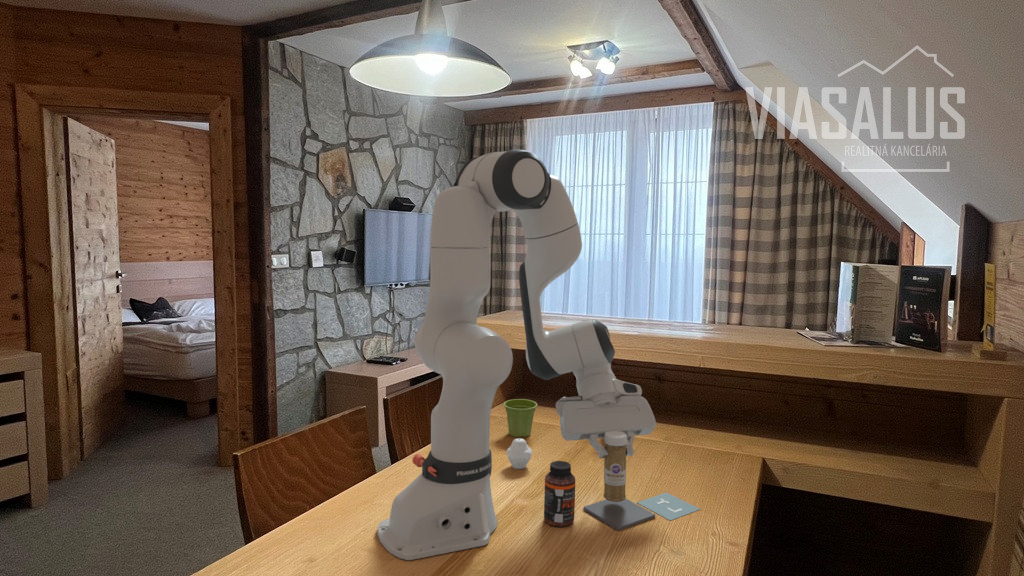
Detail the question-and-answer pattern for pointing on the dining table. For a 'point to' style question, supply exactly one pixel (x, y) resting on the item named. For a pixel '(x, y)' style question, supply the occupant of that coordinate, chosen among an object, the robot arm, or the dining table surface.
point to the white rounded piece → (519, 453)
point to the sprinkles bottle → (615, 466)
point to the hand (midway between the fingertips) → (616, 455)
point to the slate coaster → (619, 513)
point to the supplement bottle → (559, 495)
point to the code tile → (668, 506)
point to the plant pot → (520, 416)
